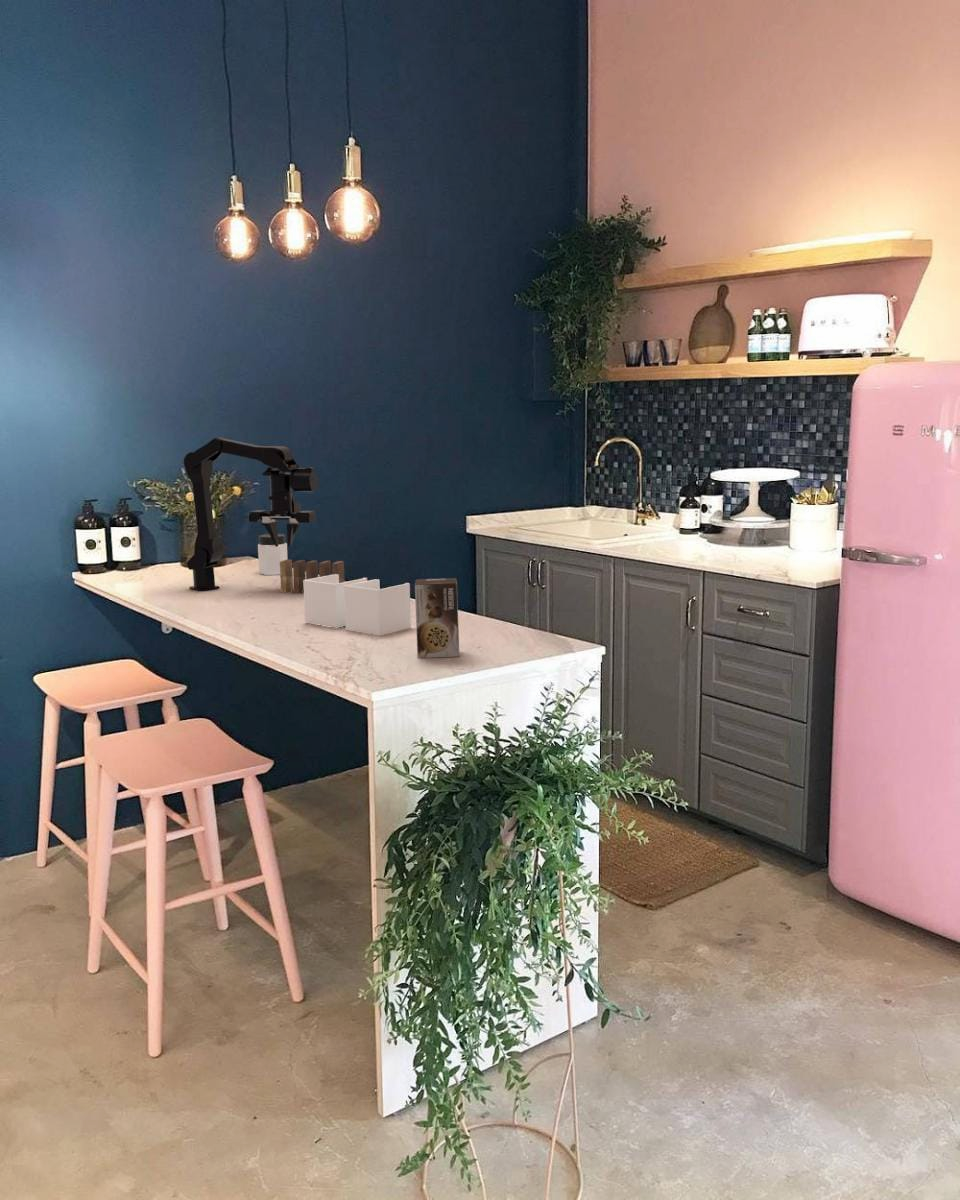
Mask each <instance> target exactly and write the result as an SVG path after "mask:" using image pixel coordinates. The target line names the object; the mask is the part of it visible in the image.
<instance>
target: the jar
mask: <svg viewBox="0 0 960 1200" xmlns="http://www.w3.org/2000/svg"><path fill="white" fill-rule="evenodd" d="M278 541H279V542H278V547H276V546H275V544H274V542H273V540H272V538H271V536H270V534H269V533H266V534H261V535H259V536H258V542H259V543H258V544H257V554H258V555H257V556H258V570H259V571H258V573H259V574H261V575H263V574H264V575H263V576H280V562H281V561H284V560H289V559H288V542H286V535H285V534H283V533H278Z"/></svg>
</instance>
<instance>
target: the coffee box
mask: <svg viewBox="0 0 960 1200" xmlns="http://www.w3.org/2000/svg"><path fill="white" fill-rule="evenodd" d="M414 595H415V597H414V598H415V599H414V600H415V621H416V624H415V625H416V627H415V628H416V650H417V654H416V657H417V659H423V658H424V659H425V658H426V659H427V658H428V659H429V658H455V657H457V658H458V657H460V637H459V634H460V633H459V605H458V602H459V601H458V582H457V578H456V577H454V578H453V577H452V578H448V577H447V578H444V577H443V578H419V579H415V581H414Z"/></svg>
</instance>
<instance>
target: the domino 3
mask: <svg viewBox="0 0 960 1200" xmlns="http://www.w3.org/2000/svg"><path fill="white" fill-rule="evenodd" d="M318 577H319V563H318V560H316V559H315V560H312V559H311V560H310V561H307V562H305V578H306V580H307V579H313V578H318Z"/></svg>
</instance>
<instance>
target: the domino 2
mask: <svg viewBox="0 0 960 1200" xmlns="http://www.w3.org/2000/svg"><path fill="white" fill-rule="evenodd" d="M292 572H293V594H300V593H299V592H301V593H303V592H302V591H304V586H303V580H306V560H305V559H298V560H296V561H294V562H293V561H292Z"/></svg>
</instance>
